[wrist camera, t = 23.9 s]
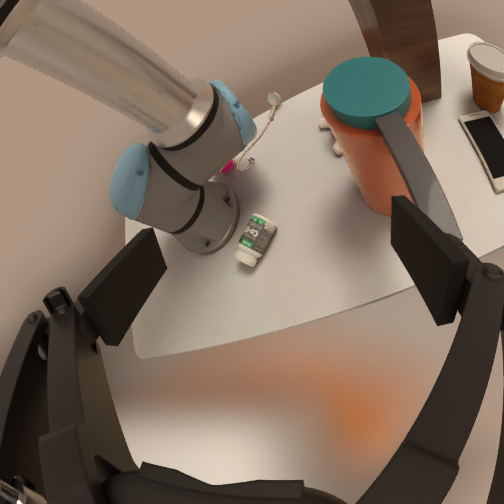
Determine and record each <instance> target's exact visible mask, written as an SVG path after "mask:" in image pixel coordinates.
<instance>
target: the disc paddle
mask: <svg viewBox="0 0 504 504" xmlns="http://www.w3.org/2000/svg"><path fill="white" fill-rule="evenodd" d="M323 94H324V97H325V99H326V101H327V103H328V105H329V107H330V109H331V111H332V113H333V114H334V115H335V117H336V118H337V119H339V120H340V121H341V122H343V123H344V124H347V125H349V126H351V127H355V128H359V129H377V130H378V131H379V133H380V135H381V137H382V139H383V140H384V142H385V144H386V146H387V148H388V150H389V152H390V154H391V156H392V158H393V160H394V162H395V164H396V166H397V168H398V170H399V172H400V174H401V176H402V178H403V180H404V183H405V185H406V187H407V189H408V192H409V194H410V196H411V198H412V201H413V203H414V204H415V205H416V206H417V207H418V208H419V209H420V210H421V211H422V212H424V213H425V214H426V215H427V216H428V217H429V218H430V219H431V220H432V221H433V222H434V223H435V224H436V225H437V226H438V227H439V228H440V229H441V230H442V231H443V232H444V233H450V234H452V235H454V236H456V237H458V238H459V239H460V240H461V241H462V240H463V238H462V235H461V233H460V230H459V227H458V225H457V222H456V220H455V217H454V215H453V212H452V210H451V208H450V205H449V203H448V201H447V199H446V196H445V194H444V192H443V190H442V188H441V186H440V183H439V181H438V179H437V177H436V175H435V173H434V171H433V169H432V167H431V166H430V164H429V162H428V160H427V158H426V156H425V154H424V153H423V151H422V149H421V147H420V146H419V144H418V142H417V140H416V139H415V137H414V135H413V134H412V132H411V130H410V129H409V127H408V126H407V124H406V122H405V121H404V119H403V117H404V116H405V115H406V114H407V112H408V111H409V109H410V107H411V103H412V95H411V88H410V82H409V78H408V76H407V74H406V73H405V72H404V70H403V69H402V68H401V67H399V66H398V65H397V64H395V63H393V62H391V61H389V60H386V59H383V58H378V57H360V58H354V59H351V60H348V61H346V62H343V63H342V64H340V65H338V66H337V67H335V68H334V69H333V70H332V71H331V72H330V73H329V74H328V76H327V77H326V79H325V81H324V84H323Z"/></svg>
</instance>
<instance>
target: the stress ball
mask: <svg viewBox="0 0 504 504" xmlns="http://www.w3.org/2000/svg"><path fill="white" fill-rule="evenodd" d="M233 165H234V158H233V159H232V160H231V161H230V162H228V163H227V164H226V165H225V166H224V167H223V168H222V169H220V170H219V171H218V173H223V174H225V172H227V171H229V170H230V169H231V168H232V167H233ZM226 175H227V174H226ZM228 176H229V175H228Z"/></svg>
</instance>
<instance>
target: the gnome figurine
mask: <svg viewBox="0 0 504 504" xmlns="http://www.w3.org/2000/svg"><path fill="white" fill-rule="evenodd" d="M318 120H319V125H320V128H330V127H329V126H328V124H327V122H326V120H325V118H324V116H323V117H321V118H319V119H318ZM333 149H334V151H335V152H336V153H337V154H339V155H340V154H343V153H342V151H341V149H340V147H339V145H338V143H337V141H336V142H335V144H334V146H333Z"/></svg>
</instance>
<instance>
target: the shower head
mask: <svg viewBox="0 0 504 504" xmlns="http://www.w3.org/2000/svg"><path fill="white" fill-rule="evenodd" d="M267 100H268V102H269V104H271V105H272V108H271V112H270V118H269V121H268V123H267V124H266V126H265V128H264V129H263V131H262V132H261V134H260V135H259V136H258V138H257V139H256V140H255V141H254V142H253V143H252V144H251V145H250V146H249V147H248V148H247V149H246V151H245V152H244V153H243V154H242V155H241V157H240V158H239V160H238V163H237V167H236V169H237V171H238V172H245V171H246V170H247V169H248V168H249V167H250V166H251V165H252V164H254V163H255V162H254V159H253V158H250V159H252V160H250V159H248V161H249V162H250V164H249V166H248V167H247V168H246V169H245V170H243V171H239V170H238V164H239V162H240V160H241V158H242V156H243V155H244V154H245V153H246V152H247V150H248V149H249V148H250V147H251V146H252V145H253V144H254V143H255V142H256V141H257V140H258V139H259V138H260V136H261V135H262V133H263V132H264V131H265V129H266V127H267V126H268V124H269V122H270V121H273V120H274V119H273V115H274V112H275V109H276V107H277V104H279V103H280V100H281V98H280V96H279V94H277V93H275V92H272V93H271V94H269V95H268V98H267Z"/></svg>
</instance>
